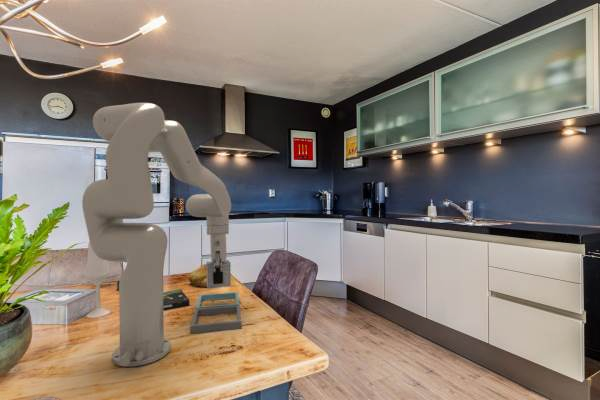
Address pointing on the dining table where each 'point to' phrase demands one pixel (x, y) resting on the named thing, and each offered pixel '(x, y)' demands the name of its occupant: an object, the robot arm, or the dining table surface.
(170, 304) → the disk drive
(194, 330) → the dock
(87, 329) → the dining table surface
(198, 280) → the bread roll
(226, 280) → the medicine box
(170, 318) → the dining table surface
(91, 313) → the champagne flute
